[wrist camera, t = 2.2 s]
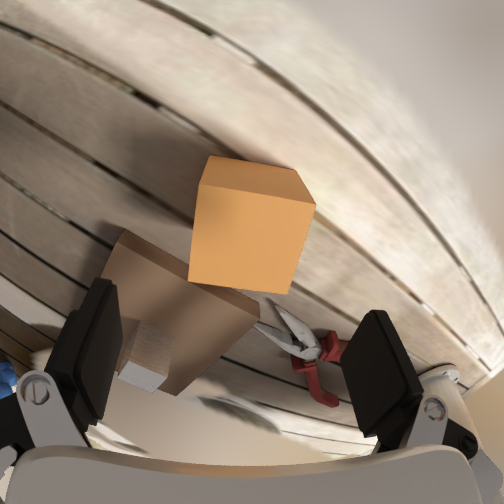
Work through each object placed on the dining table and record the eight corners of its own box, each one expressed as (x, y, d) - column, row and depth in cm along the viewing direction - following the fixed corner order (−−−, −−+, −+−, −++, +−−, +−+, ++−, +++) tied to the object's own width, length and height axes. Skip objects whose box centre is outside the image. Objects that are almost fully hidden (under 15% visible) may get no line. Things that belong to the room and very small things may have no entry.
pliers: (311, 268, 25) (317, 287, 23) (399, 356, 34) (406, 371, 31) (219, 334, 29) (218, 354, 27) (328, 397, 38) (331, 412, 35)
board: (258, 302, 26) (264, 361, 21) (177, 382, 33) (172, 429, 27) (124, 228, 22) (94, 279, 16) (78, 335, 29) (58, 381, 23)
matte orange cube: (296, 170, 20) (316, 204, 15) (276, 244, 23) (287, 294, 18) (209, 155, 19) (198, 184, 14) (198, 232, 23) (187, 281, 17)
